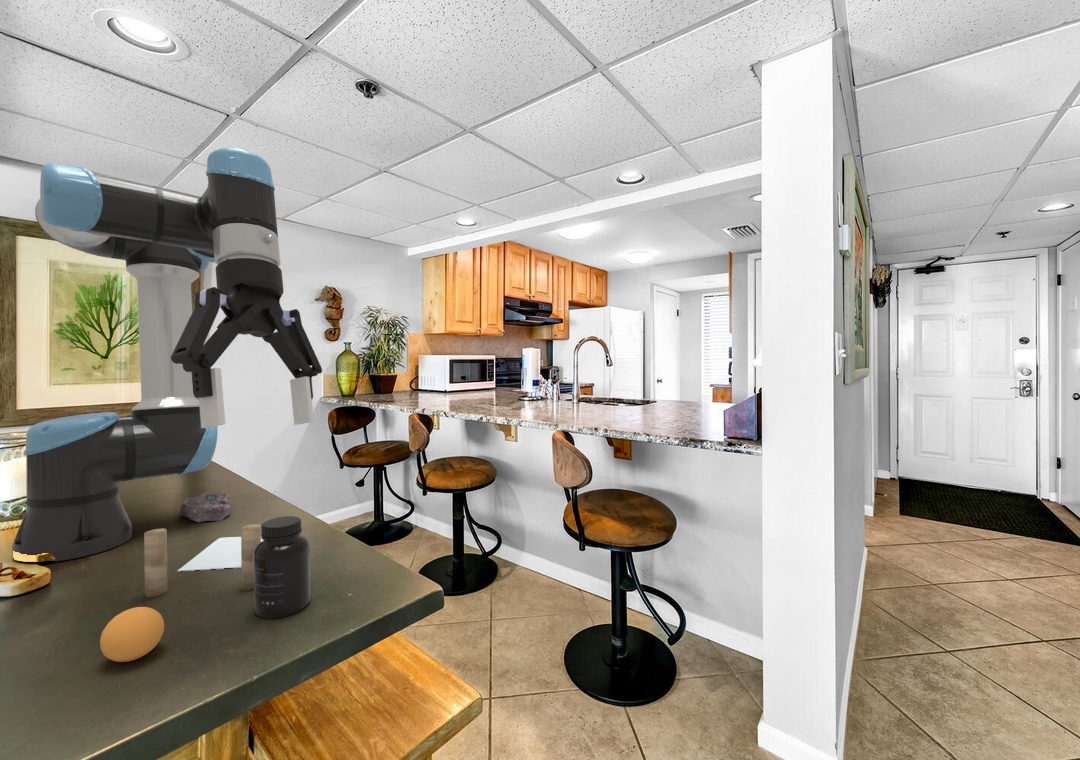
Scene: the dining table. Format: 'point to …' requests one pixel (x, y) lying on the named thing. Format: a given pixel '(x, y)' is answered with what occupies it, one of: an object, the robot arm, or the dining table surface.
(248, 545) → the post
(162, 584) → the post
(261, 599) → the supplement bottle
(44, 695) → the dining table surface
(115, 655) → the ball
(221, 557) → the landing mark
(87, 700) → the dining table surface
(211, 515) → the rock
